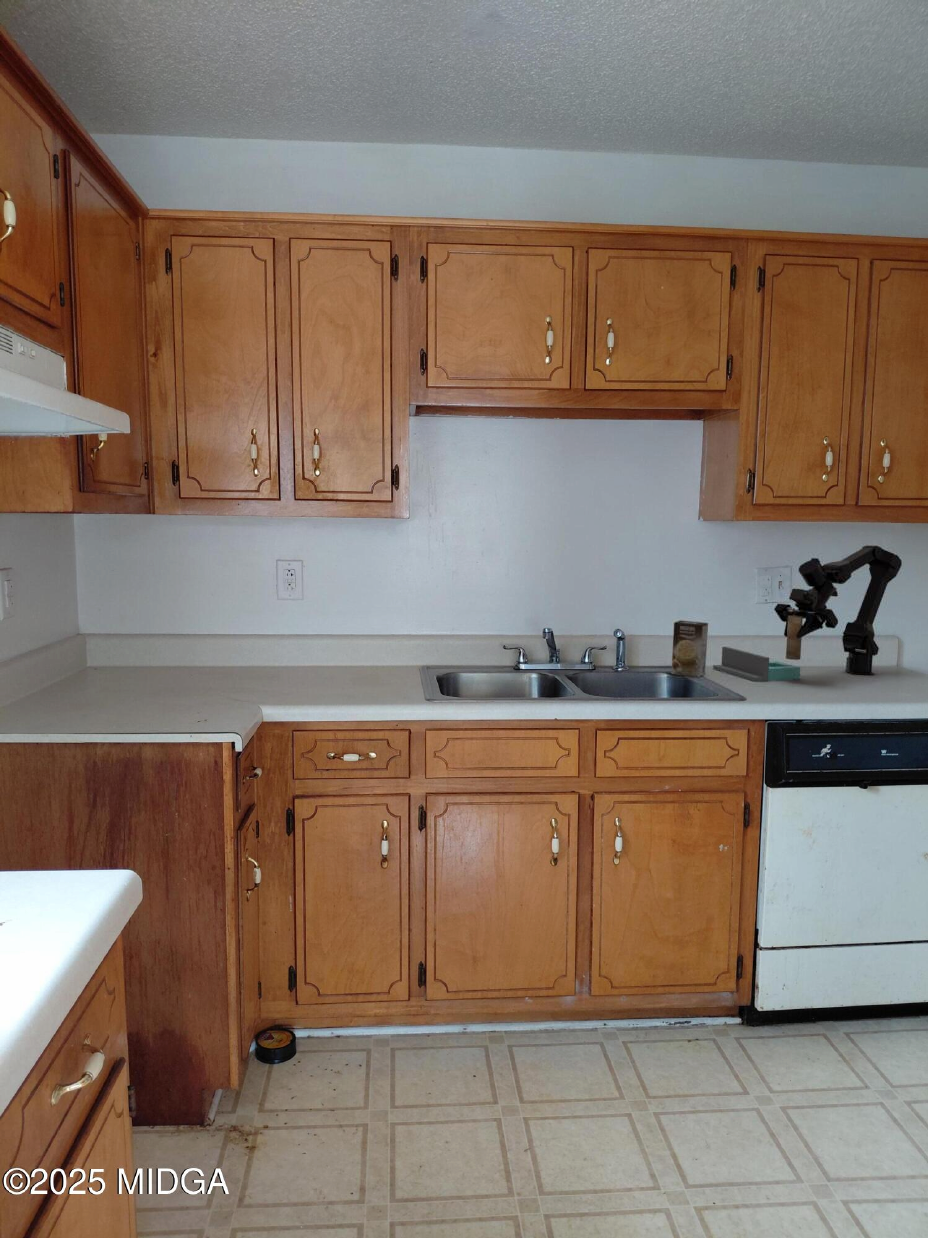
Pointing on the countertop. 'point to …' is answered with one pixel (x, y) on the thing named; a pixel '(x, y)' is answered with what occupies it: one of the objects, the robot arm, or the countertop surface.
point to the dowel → (793, 638)
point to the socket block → (783, 671)
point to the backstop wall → (744, 664)
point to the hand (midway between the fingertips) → (791, 636)
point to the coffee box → (689, 648)
